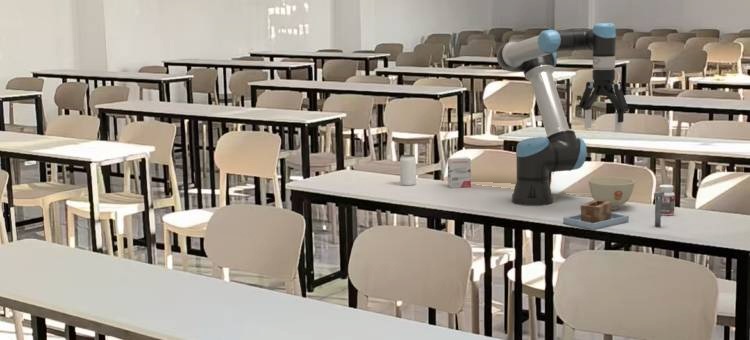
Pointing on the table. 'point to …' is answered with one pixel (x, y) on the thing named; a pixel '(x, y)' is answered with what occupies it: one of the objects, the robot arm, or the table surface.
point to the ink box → (459, 172)
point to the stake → (658, 208)
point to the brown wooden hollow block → (596, 211)
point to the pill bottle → (667, 200)
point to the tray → (614, 220)
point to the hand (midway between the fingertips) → (602, 130)
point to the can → (407, 170)
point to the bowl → (611, 190)
